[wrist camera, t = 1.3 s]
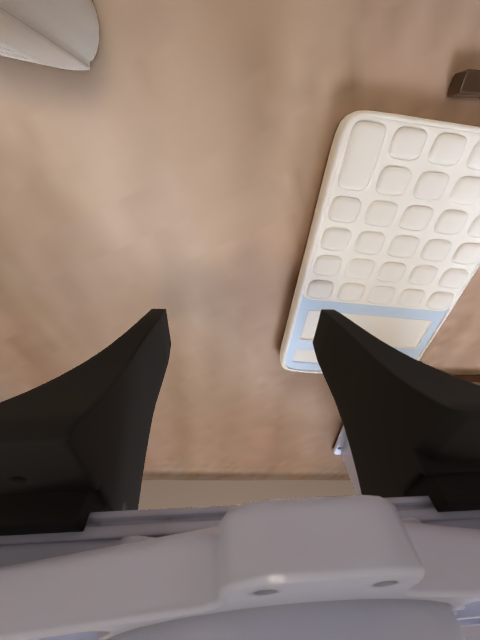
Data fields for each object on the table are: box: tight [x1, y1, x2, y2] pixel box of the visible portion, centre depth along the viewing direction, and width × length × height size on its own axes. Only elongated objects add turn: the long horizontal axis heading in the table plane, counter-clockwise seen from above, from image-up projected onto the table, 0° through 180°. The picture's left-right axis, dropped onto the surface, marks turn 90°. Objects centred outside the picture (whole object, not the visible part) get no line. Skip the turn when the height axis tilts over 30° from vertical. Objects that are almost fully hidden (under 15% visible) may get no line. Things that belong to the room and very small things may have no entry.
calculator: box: [280, 110, 480, 374], centre depth 20 cm, size 13×20×2 cm, turn 174°
